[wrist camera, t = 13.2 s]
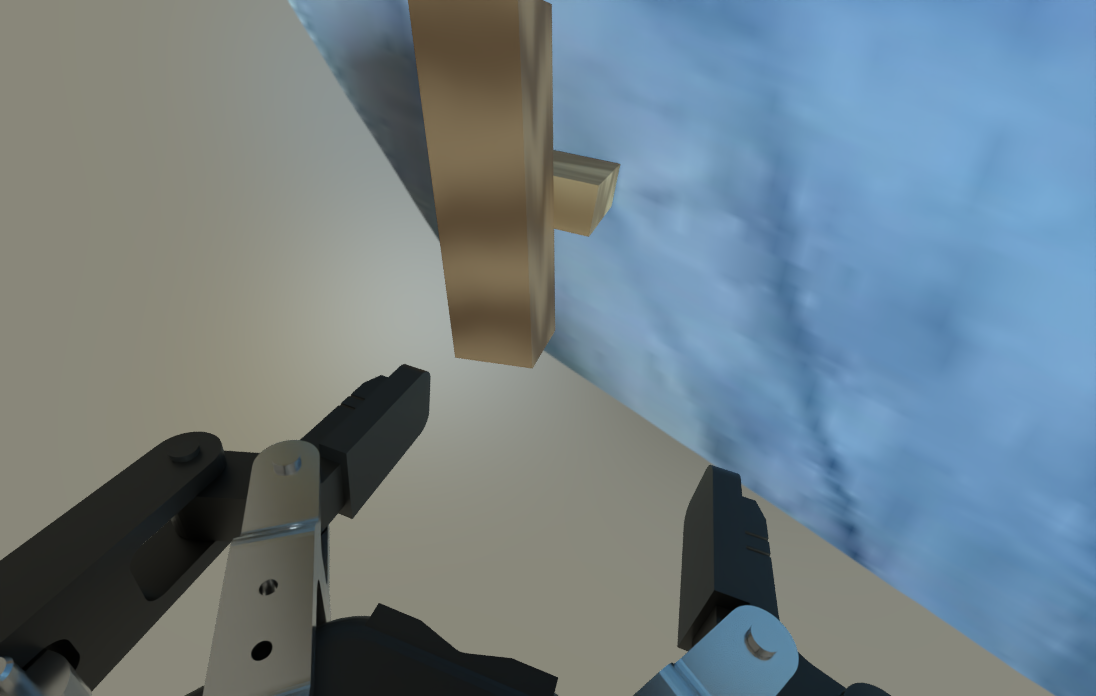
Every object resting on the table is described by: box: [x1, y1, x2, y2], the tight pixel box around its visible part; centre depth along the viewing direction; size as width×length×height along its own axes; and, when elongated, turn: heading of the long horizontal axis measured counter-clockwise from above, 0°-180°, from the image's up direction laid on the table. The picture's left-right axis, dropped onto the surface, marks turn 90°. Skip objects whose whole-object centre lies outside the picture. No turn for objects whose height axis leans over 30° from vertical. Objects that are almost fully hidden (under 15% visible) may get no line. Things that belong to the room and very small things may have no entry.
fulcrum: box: [553, 150, 620, 237], centre depth 32 cm, size 3×10×8 cm, turn 81°
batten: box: [408, 0, 555, 368], centre depth 26 cm, size 18×5×5 cm, turn 1°
